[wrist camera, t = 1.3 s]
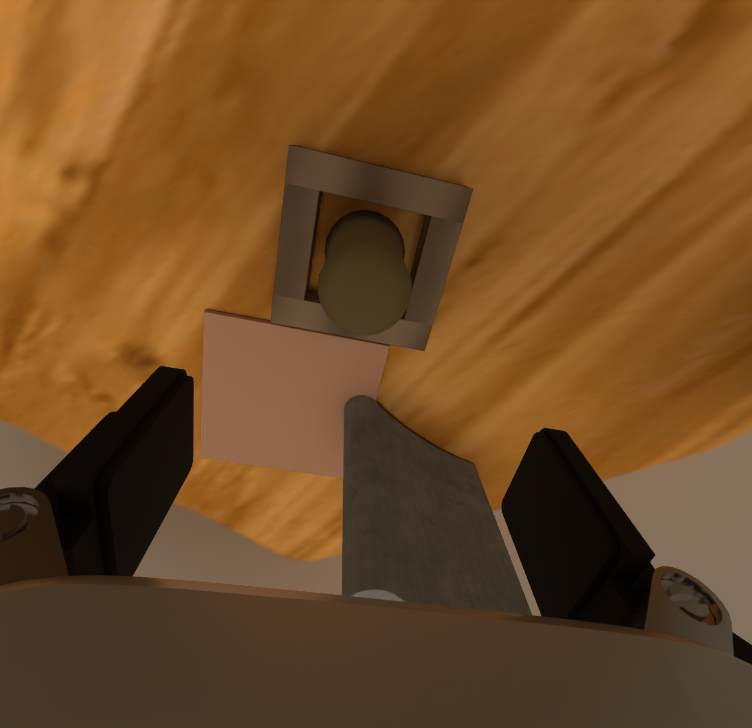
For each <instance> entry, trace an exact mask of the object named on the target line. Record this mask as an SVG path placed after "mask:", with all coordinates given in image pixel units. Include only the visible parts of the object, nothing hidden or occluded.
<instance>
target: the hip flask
mask: <svg viewBox="0 0 752 728" xmlns="http://www.w3.org/2000/svg"><path fill="white" fill-rule="evenodd" d="M342 595H344V596H354V597H364V598H373V599H383V600H393V601H403V602H412V603H422V604H431V605H441V606H451V607H460V608H470V609H479V610H488V611H497V612H506V613H515V614H525V615H532V613H531V610H530V608H529V605H528V603H527V600H526V597H525V595H524V592H523V590H522V587H521V585H520V582H519V579H518V577H517V574H516V572H515V569H514V566H513V564H512V561H511V559H510V556H509V553H508V551H507V548H506V546H505V543H504V540H503V538H502V535H501V533H500V530H499V527H498V525H497V522H496V520H495V517H494V514H493V512H492V509H491V507H490V504H489V501H488V499H487V496H486V494H485V491H484V488H483V486H482V483H481V481H480V478H479V475H478V473H477V470H476V468H475V466H474V465H473V464H472V463H470V462H468V461H465V460H463V459H460V458H458V457H455V456H453V455H451V454H449V453H447V452H444V451H443V450H441V449H439V448H437V447H435V446H433V445H432V444H430V443H428V442H426V441H425V440H423V439H422V438H420V437H419V436H417V435H415V434H414V433H412V432H411V431H409V430H408V429H407V428H405V427H404V426H403V425H401V424H400V423H399V422H397V421H396V420H395V419H394V418H393V417H391V416H390V415H389V414H388V413H387V412H386V411H385V410H383V409H382V408H381V407H380V406H379V405H378V404H377V403H376V402H375V401H374V400H373V399H371V398H369V397H364V396H361V397H356V398H353V399H351V400H350V401H349V402H348V403H347V404H346V405H345V408H344V452H343V541H342Z"/></svg>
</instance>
